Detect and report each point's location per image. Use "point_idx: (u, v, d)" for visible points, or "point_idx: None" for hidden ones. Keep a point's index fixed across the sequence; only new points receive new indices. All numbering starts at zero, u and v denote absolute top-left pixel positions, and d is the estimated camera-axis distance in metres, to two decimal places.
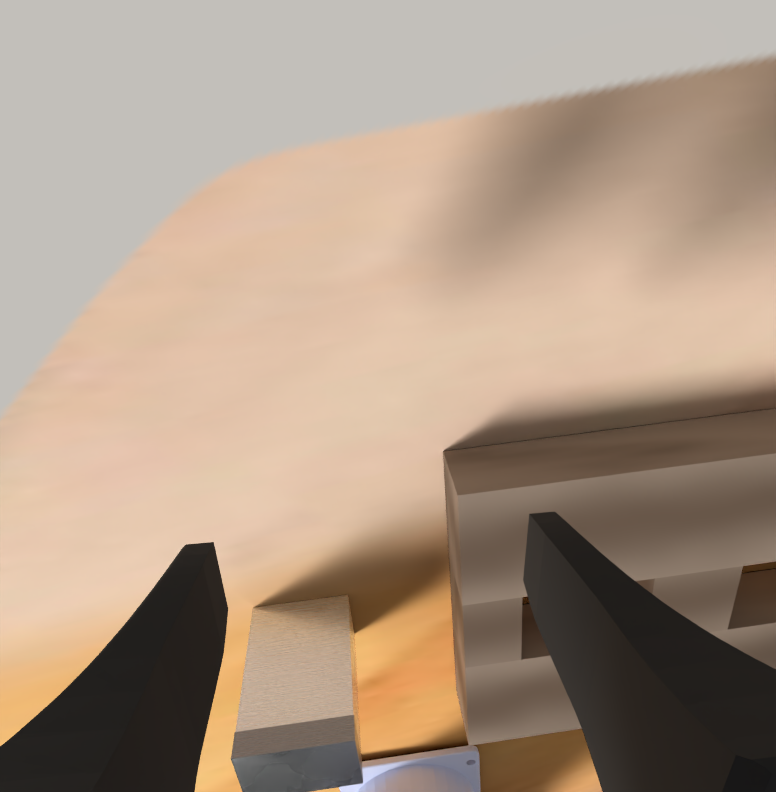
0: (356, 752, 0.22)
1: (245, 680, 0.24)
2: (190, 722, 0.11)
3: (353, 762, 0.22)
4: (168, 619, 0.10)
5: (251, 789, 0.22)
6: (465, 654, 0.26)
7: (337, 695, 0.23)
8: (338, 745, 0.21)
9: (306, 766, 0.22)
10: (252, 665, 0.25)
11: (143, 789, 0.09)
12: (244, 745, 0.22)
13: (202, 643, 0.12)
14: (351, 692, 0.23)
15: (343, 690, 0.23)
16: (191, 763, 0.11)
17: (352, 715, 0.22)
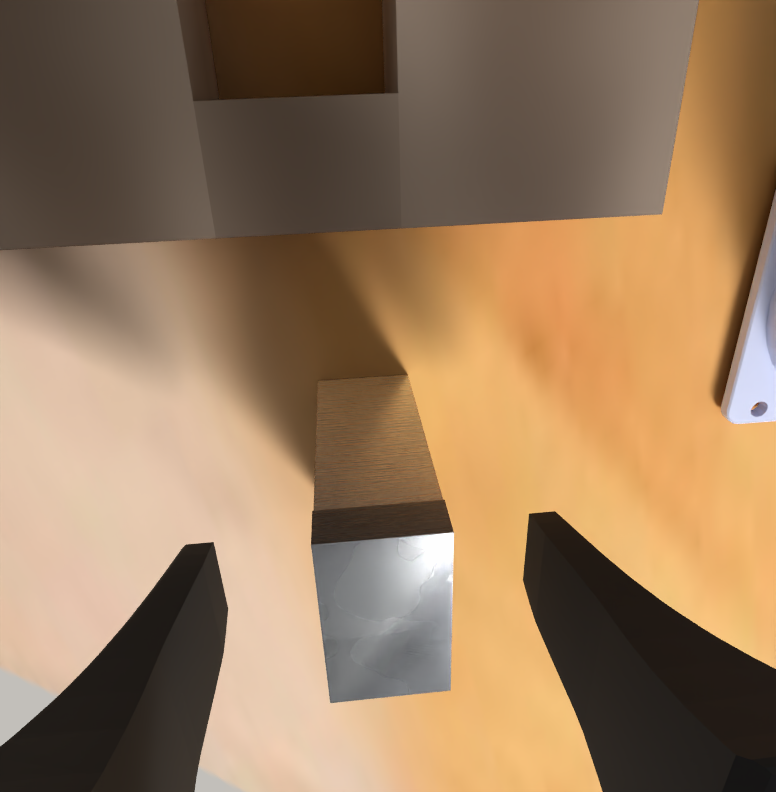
0: (350, 542, 0.11)
1: None
2: (190, 722, 0.11)
3: (380, 547, 0.11)
4: (168, 619, 0.10)
5: (420, 683, 0.13)
6: (361, 228, 0.12)
7: None
8: (323, 570, 0.11)
9: (375, 614, 0.12)
10: None
11: (143, 789, 0.09)
12: None
13: (202, 643, 0.12)
14: (314, 484, 0.13)
15: None
16: (191, 763, 0.11)
17: (314, 513, 0.12)
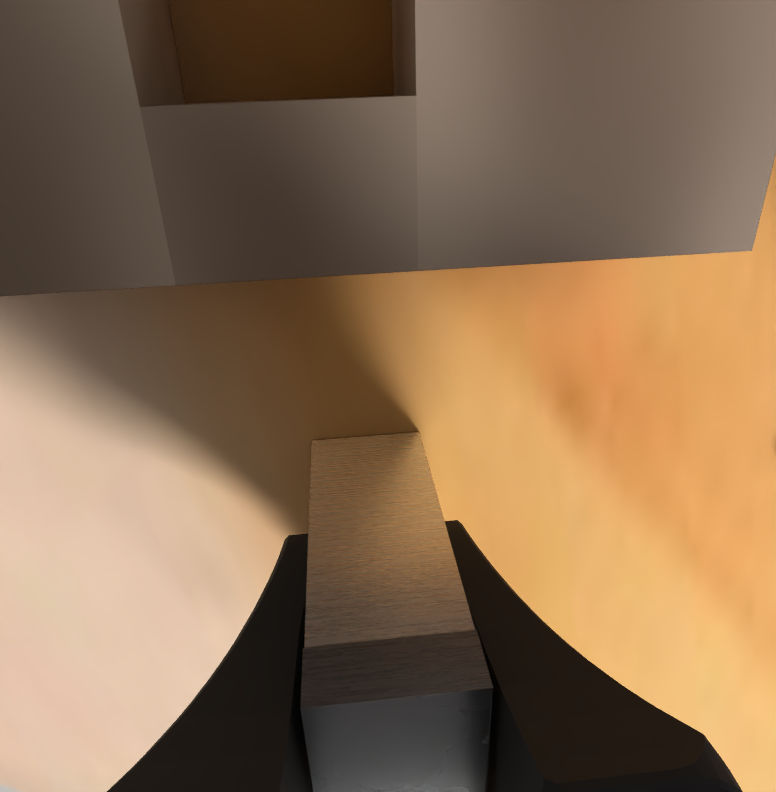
0: (354, 703, 0.08)
1: None
2: None
3: (394, 708, 0.08)
4: (295, 606, 0.11)
5: None
6: (366, 271, 0.09)
7: None
8: (316, 737, 0.08)
9: (386, 783, 0.09)
10: None
11: (299, 771, 0.09)
12: None
13: None
14: (306, 601, 0.10)
15: None
16: None
17: (305, 650, 0.09)
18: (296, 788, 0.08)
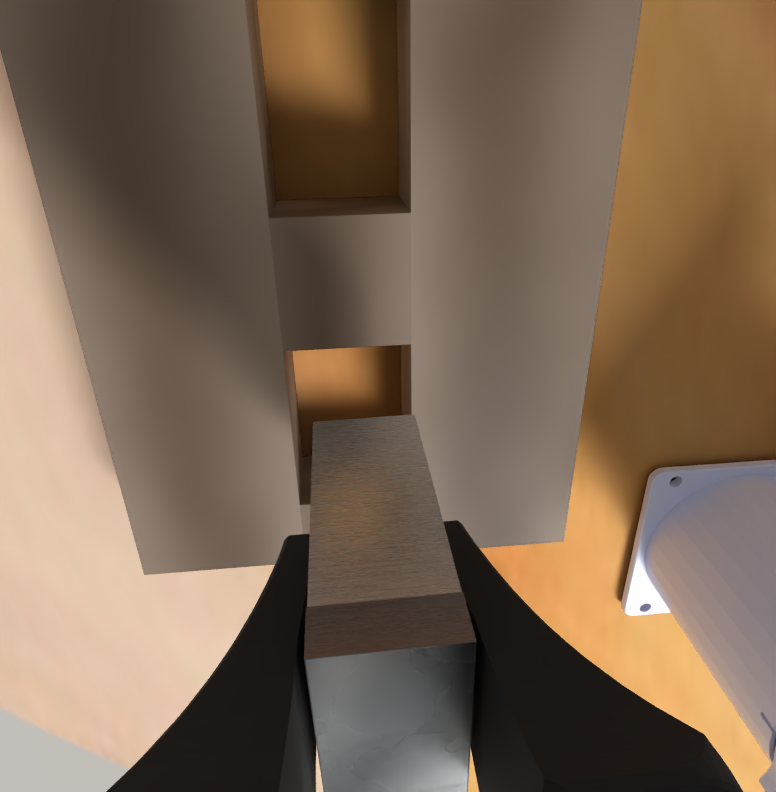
0: (352, 654, 0.09)
1: None
2: None
3: (388, 659, 0.09)
4: (295, 607, 0.11)
5: None
6: None
7: None
8: (318, 685, 0.09)
9: (380, 728, 0.10)
10: None
11: (298, 771, 0.09)
12: None
13: None
14: (308, 567, 0.11)
15: None
16: (313, 749, 0.11)
17: (307, 609, 0.10)
18: (295, 788, 0.08)
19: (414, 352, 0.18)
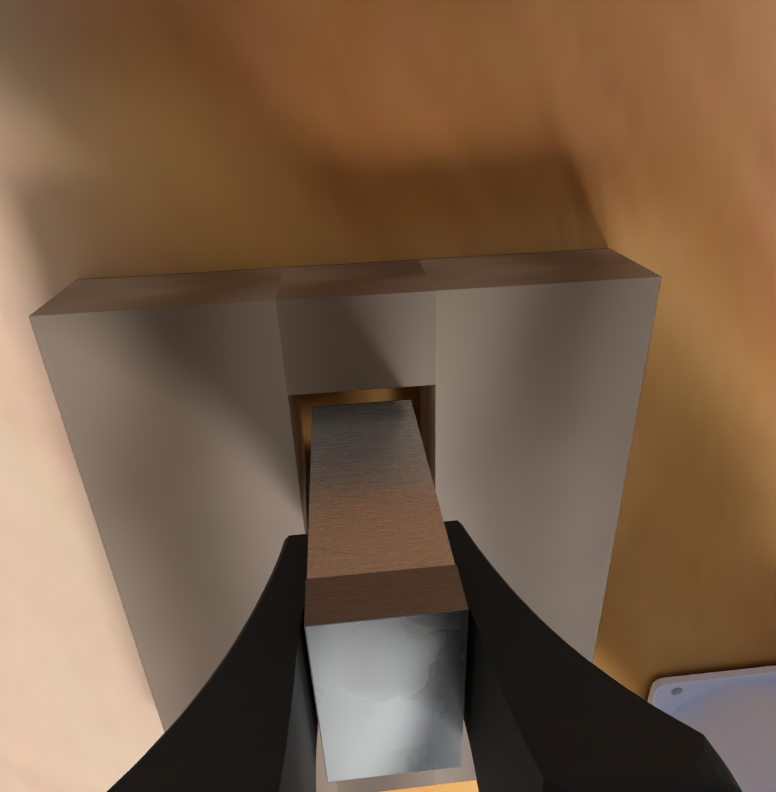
0: (350, 622, 0.09)
1: None
2: (312, 709, 0.11)
3: (384, 627, 0.10)
4: (295, 607, 0.11)
5: (427, 760, 0.12)
6: (413, 786, 0.23)
7: None
8: (317, 651, 0.10)
9: (378, 694, 0.10)
10: None
11: (299, 771, 0.09)
12: None
13: None
14: (308, 542, 0.11)
15: None
16: (313, 749, 0.11)
17: (307, 581, 0.10)
18: (296, 788, 0.08)
19: None
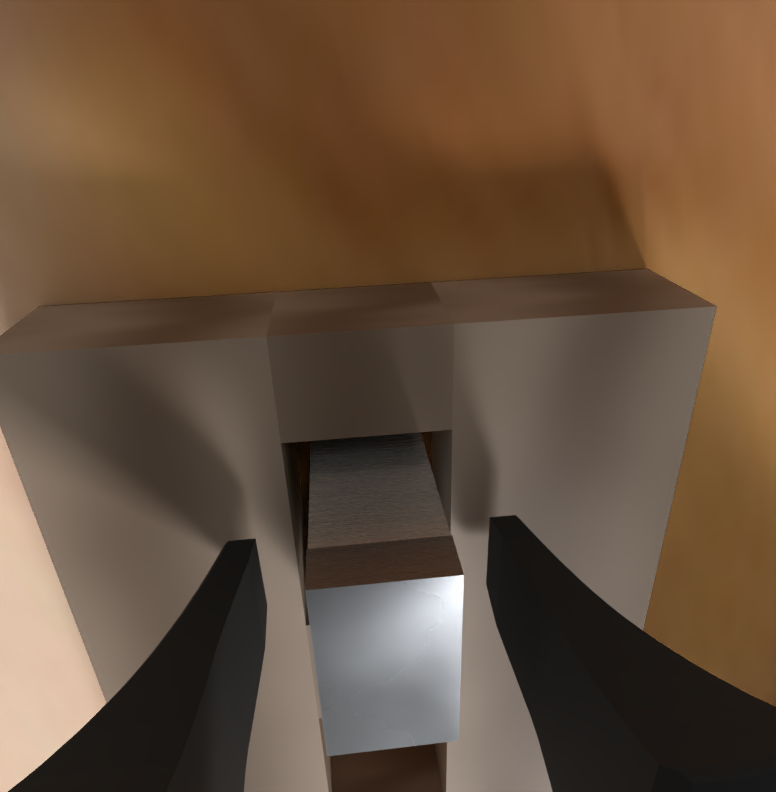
0: (349, 587, 0.10)
1: None
2: (240, 716, 0.11)
3: (382, 592, 0.10)
4: (220, 614, 0.10)
5: (425, 734, 0.12)
6: None
7: None
8: (318, 617, 0.10)
9: (376, 663, 0.11)
10: None
11: (207, 781, 0.09)
12: None
13: (248, 638, 0.12)
14: (309, 517, 0.11)
15: None
16: (241, 757, 0.11)
17: (308, 551, 0.11)
18: None
19: None
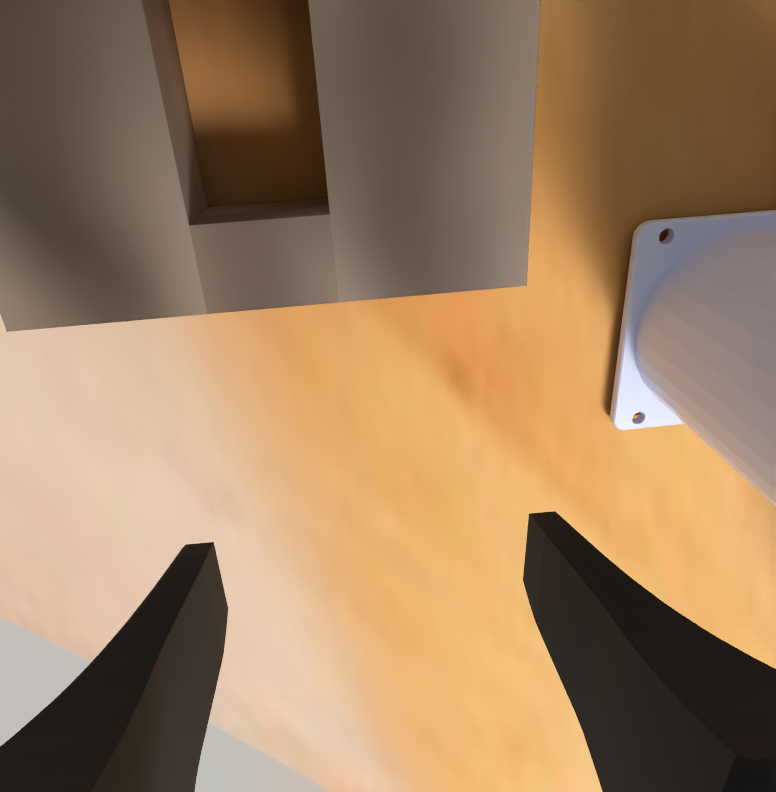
0: None
1: None
2: (190, 722, 0.11)
3: None
4: (168, 619, 0.10)
5: None
6: (310, 303, 0.17)
7: None
8: None
9: None
10: None
11: (143, 789, 0.09)
12: None
13: (202, 643, 0.12)
14: None
15: None
16: (191, 763, 0.11)
17: None
18: None
19: None
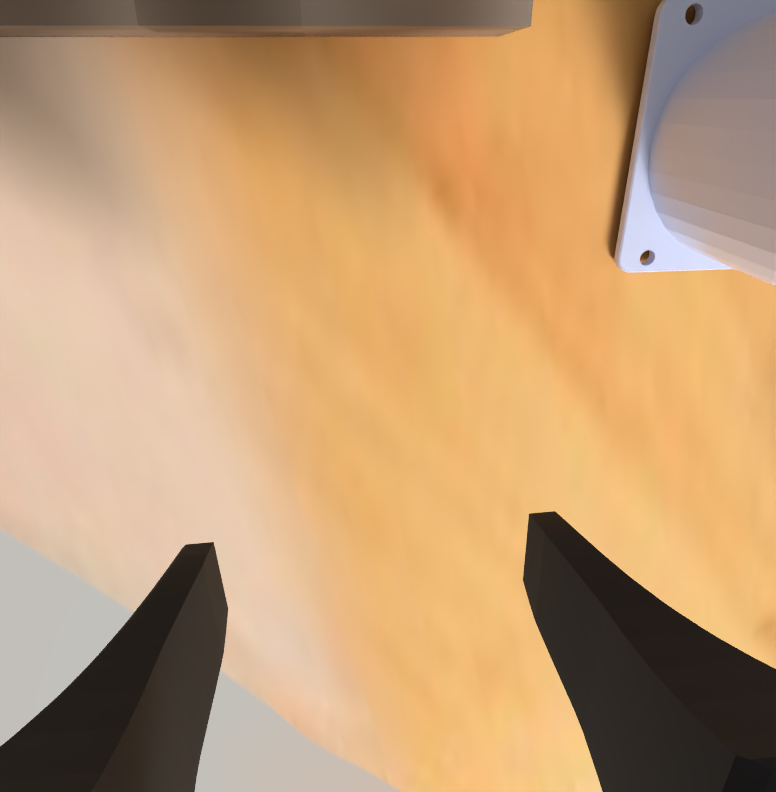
0: None
1: None
2: (190, 722, 0.11)
3: None
4: (168, 619, 0.10)
5: None
6: (266, 24, 0.14)
7: None
8: None
9: None
10: None
11: (143, 789, 0.09)
12: None
13: (202, 643, 0.12)
14: None
15: None
16: (191, 763, 0.11)
17: None
18: None
19: None
